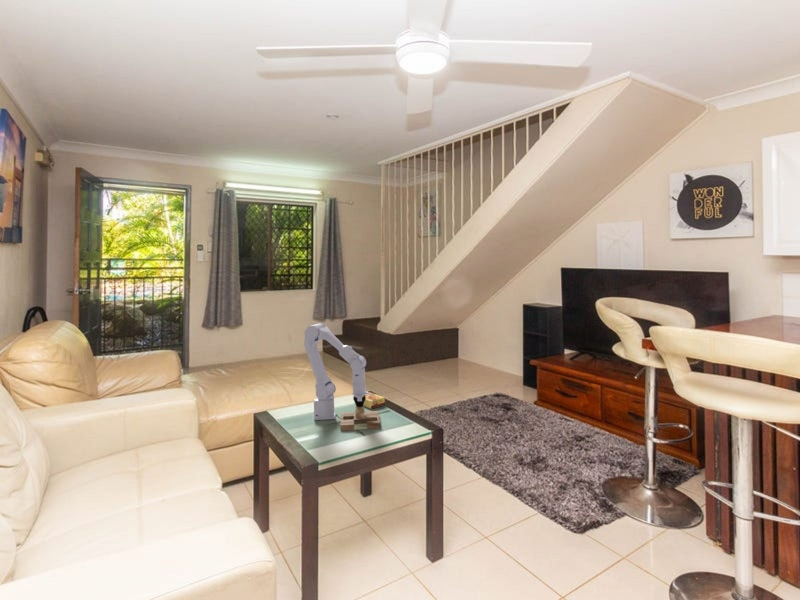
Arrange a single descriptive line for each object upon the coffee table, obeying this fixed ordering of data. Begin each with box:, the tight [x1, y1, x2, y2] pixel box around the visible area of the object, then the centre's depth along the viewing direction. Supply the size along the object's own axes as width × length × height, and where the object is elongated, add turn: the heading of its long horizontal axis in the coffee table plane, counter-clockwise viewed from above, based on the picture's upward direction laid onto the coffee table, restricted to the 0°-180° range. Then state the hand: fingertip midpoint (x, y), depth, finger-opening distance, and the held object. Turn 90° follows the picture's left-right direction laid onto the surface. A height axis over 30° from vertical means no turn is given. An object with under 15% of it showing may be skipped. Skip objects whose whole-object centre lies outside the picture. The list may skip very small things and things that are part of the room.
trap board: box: [340, 410, 381, 431], centre depth 191 cm, size 16×17×4 cm
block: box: [354, 406, 365, 419], centre depth 192 cm, size 4×4×4 cm
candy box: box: [353, 391, 386, 409], centre depth 218 cm, size 9×4×15 cm
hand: (359, 412), depth 196 cm, fingers closed
